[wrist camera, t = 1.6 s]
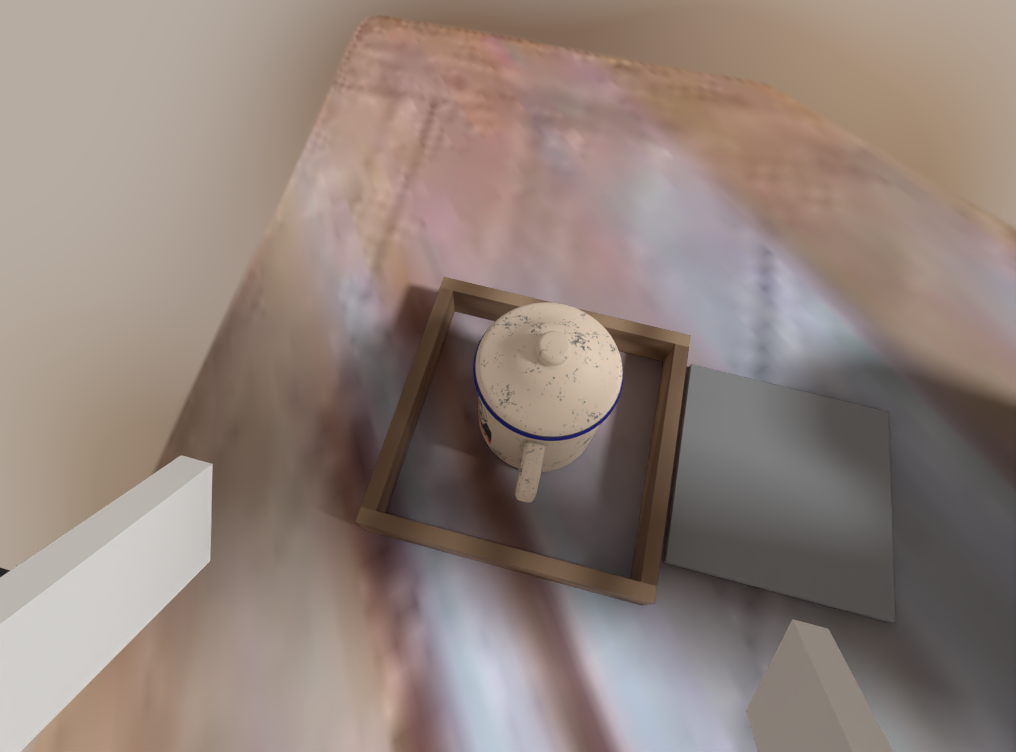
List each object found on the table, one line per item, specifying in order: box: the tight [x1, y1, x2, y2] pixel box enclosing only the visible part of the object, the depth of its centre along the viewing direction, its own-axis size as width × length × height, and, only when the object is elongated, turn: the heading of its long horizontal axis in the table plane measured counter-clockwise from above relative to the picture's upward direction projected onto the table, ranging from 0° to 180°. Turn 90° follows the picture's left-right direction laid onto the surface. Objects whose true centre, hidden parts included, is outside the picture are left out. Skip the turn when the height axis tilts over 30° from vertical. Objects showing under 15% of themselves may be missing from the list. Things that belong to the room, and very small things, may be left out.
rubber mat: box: [663, 364, 896, 623], centre depth 40 cm, size 15×15×1 cm
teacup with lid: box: [473, 302, 623, 503], centre depth 36 cm, size 12×9×12 cm
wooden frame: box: [355, 277, 691, 605], centre depth 40 cm, size 19×19×3 cm
